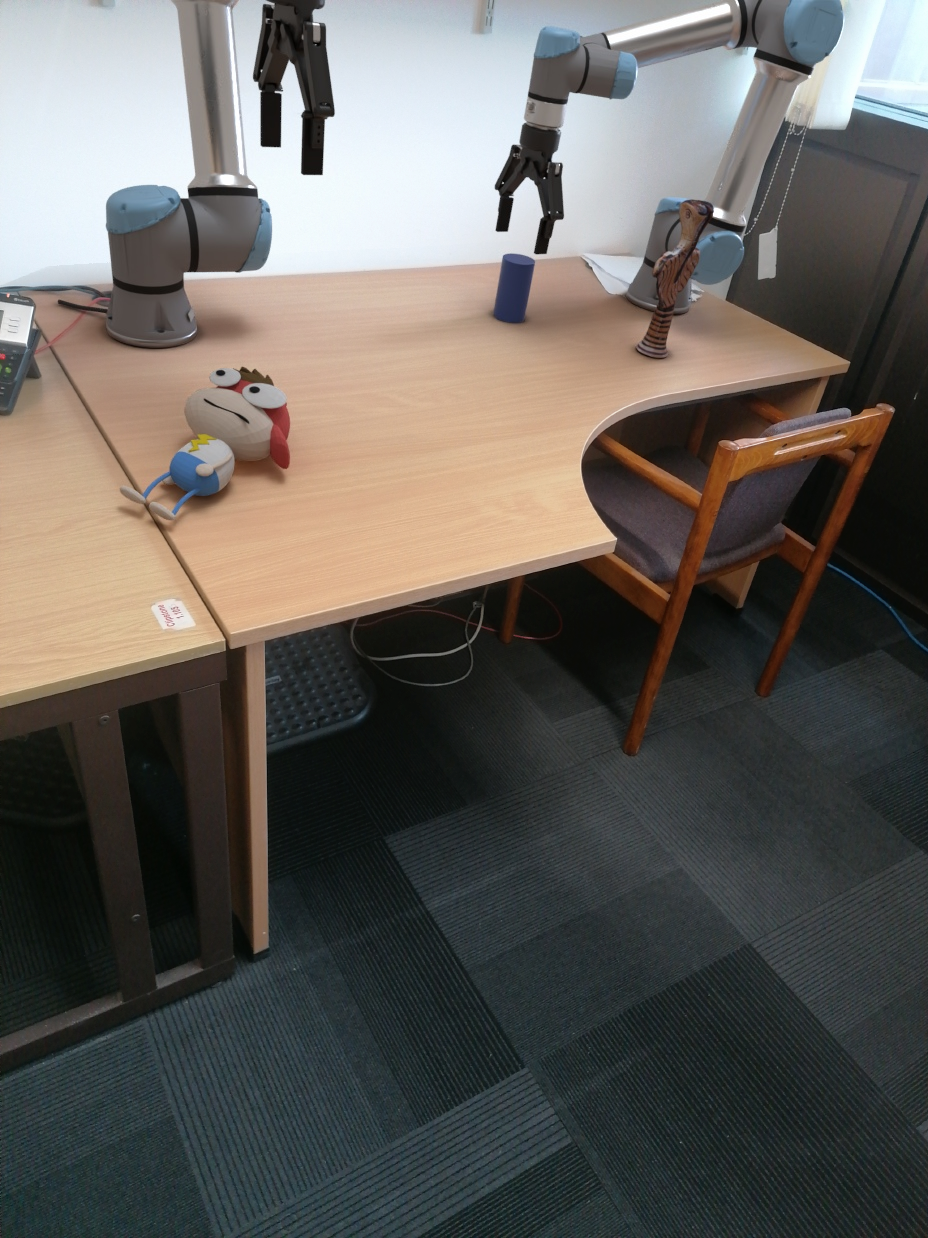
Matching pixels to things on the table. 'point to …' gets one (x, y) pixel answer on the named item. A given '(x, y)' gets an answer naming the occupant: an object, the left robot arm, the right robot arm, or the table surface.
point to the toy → (225, 435)
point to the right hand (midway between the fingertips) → (520, 242)
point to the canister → (513, 288)
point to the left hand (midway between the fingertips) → (290, 160)
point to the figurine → (675, 274)
